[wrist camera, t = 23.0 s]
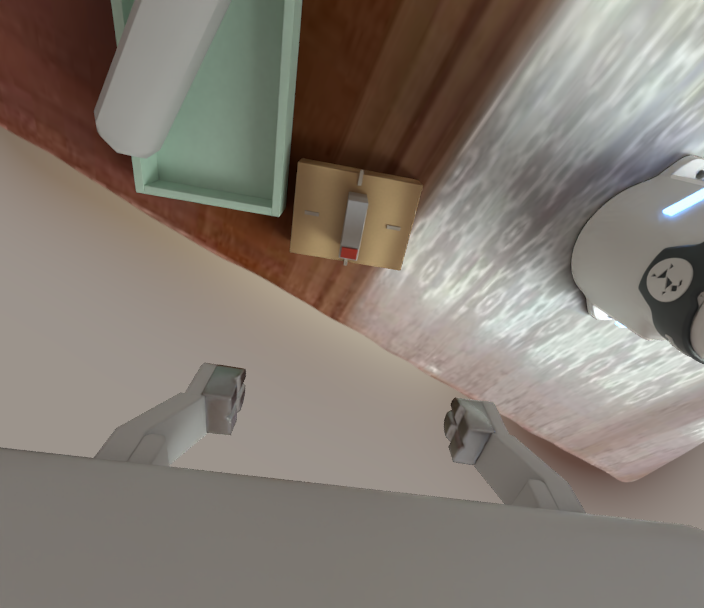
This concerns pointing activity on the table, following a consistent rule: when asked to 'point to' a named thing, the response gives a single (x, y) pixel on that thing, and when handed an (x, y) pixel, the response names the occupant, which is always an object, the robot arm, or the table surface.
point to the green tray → (232, 114)
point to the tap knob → (353, 225)
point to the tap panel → (330, 206)
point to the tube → (154, 71)
